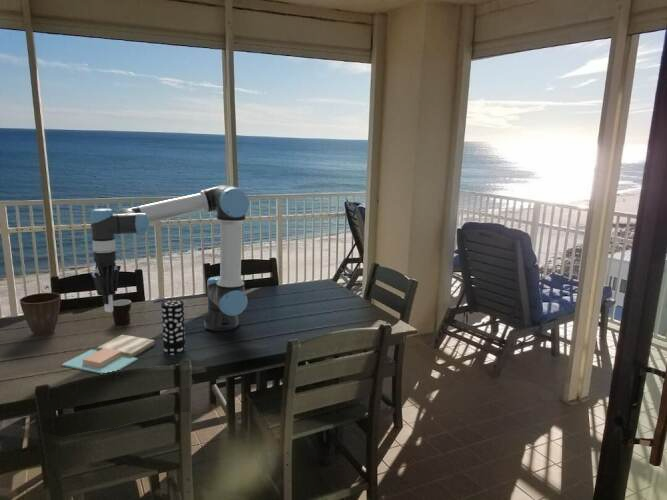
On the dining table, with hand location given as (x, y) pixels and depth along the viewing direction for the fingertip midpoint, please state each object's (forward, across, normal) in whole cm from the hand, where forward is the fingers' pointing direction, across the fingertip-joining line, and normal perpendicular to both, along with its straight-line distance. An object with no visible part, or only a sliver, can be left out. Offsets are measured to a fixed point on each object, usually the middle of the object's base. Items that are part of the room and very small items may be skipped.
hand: (109, 311), depth 182 cm
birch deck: (+18, -8, 0) cm, 20 cm away
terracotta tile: (+18, +5, 0) cm, 18 cm away
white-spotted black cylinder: (+19, -13, +19) cm, 30 cm away
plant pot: (+19, -8, -43) cm, 47 cm away
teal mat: (+18, +6, 0) cm, 19 cm away
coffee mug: (+19, -31, -21) cm, 42 cm away
